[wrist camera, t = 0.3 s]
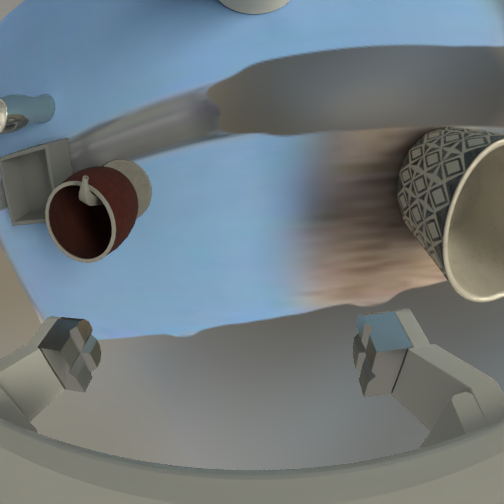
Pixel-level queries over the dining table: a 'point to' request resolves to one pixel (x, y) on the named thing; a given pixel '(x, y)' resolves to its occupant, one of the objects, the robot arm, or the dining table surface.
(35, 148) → the bin
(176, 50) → the dining table surface
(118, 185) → the mate gourd
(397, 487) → the robot arm
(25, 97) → the beer glass
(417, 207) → the planter
